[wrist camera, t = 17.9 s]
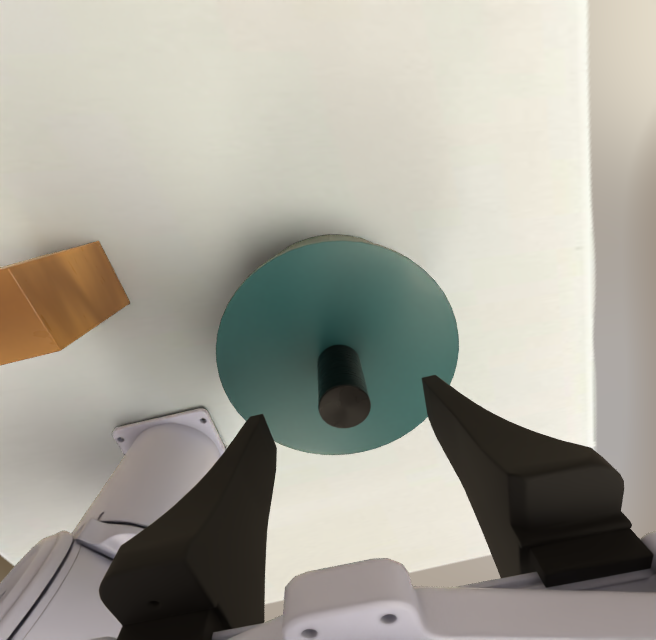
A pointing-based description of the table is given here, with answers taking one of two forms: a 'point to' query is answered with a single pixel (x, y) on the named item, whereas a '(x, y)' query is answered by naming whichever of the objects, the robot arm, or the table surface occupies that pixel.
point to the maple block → (55, 300)
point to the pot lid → (336, 345)
